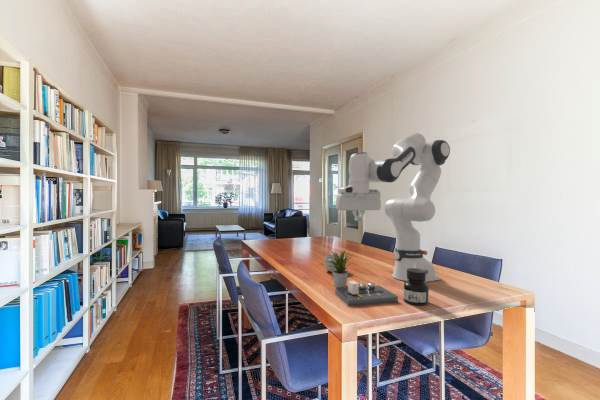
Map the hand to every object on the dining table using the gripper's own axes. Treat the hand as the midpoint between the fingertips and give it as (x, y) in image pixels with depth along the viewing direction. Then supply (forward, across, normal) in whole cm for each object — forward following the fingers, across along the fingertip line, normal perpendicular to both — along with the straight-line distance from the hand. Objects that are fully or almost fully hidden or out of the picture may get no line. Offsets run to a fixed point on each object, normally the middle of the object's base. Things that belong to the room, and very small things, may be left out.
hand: (358, 220), depth 132 cm
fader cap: (+27, +8, +14) cm, 31 cm away
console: (+29, +3, +14) cm, 32 cm away
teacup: (+29, +2, -26) cm, 39 cm away
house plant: (+29, +7, -4) cm, 30 cm away
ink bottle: (+29, -14, +22) cm, 39 cm away
